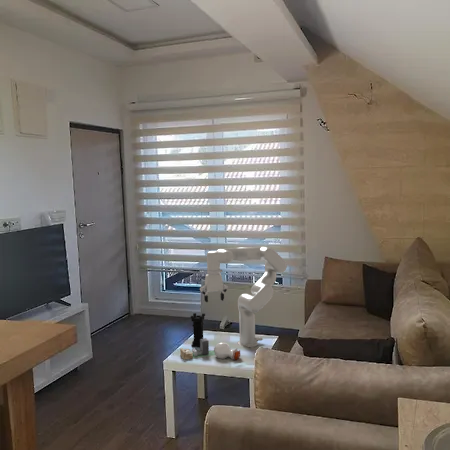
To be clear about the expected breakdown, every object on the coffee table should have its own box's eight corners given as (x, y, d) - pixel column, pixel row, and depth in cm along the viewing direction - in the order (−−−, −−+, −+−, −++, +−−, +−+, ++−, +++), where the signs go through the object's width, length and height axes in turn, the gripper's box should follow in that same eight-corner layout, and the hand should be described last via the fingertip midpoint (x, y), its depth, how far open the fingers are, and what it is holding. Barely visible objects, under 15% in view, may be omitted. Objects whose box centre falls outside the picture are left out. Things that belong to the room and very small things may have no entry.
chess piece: (203, 349, 284) (202, 316, 282) (190, 348, 286) (189, 316, 284) (206, 345, 292) (205, 313, 290) (194, 344, 293) (193, 312, 292)
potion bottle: (215, 358, 272) (238, 366, 265) (208, 353, 264) (232, 361, 257) (220, 343, 276) (243, 350, 269) (214, 338, 268) (238, 344, 261)
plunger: (206, 351, 275) (206, 338, 275) (208, 354, 271) (208, 340, 271) (192, 353, 273) (192, 340, 272) (194, 356, 268) (194, 342, 268)
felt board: (219, 351, 280) (219, 349, 280) (223, 355, 273) (223, 353, 273) (180, 357, 272) (180, 355, 272) (183, 361, 265) (183, 359, 264)
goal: (188, 353, 274) (188, 347, 273) (192, 358, 266) (192, 351, 266) (180, 355, 272) (180, 348, 271) (184, 359, 264) (183, 352, 264)
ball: (183, 349, 270) (183, 355, 270) (185, 351, 267) (185, 357, 267) (189, 349, 271) (189, 355, 271) (191, 351, 268) (191, 357, 268)
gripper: (225, 270, 284) (225, 298, 285) (197, 272, 278) (198, 301, 279) (229, 272, 277) (230, 300, 278) (201, 274, 271) (202, 303, 272)
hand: (214, 301), depth 278 cm, fingers open, 9 cm apart
